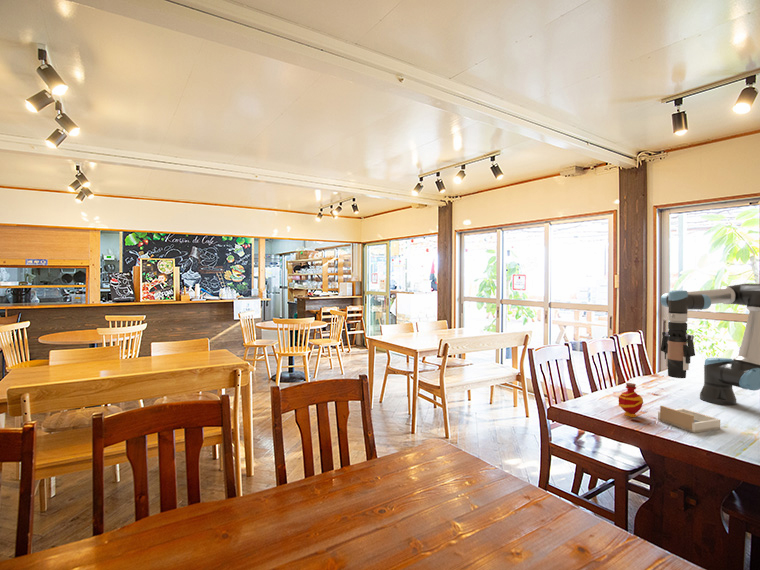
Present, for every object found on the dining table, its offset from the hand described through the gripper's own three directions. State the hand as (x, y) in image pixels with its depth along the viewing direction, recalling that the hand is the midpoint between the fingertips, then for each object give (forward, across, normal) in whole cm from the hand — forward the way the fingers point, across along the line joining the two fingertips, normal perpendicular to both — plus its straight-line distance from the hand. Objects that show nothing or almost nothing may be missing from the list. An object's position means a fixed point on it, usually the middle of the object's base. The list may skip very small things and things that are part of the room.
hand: (677, 368), depth 197 cm
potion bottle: (+22, -3, -26) cm, 34 cm away
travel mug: (+4, 0, 0) cm, 4 cm away
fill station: (+22, +14, -12) cm, 28 cm away
